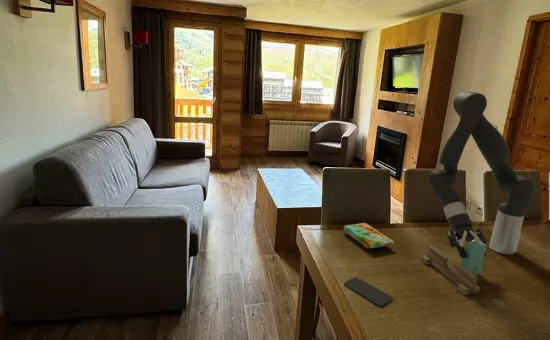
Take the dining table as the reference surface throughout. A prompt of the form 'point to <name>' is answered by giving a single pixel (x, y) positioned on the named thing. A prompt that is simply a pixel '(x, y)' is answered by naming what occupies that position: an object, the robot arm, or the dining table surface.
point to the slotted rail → (452, 271)
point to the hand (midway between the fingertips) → (474, 257)
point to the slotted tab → (474, 257)
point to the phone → (368, 292)
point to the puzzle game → (367, 235)
